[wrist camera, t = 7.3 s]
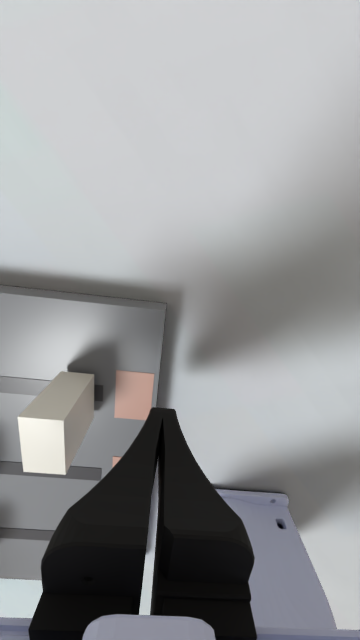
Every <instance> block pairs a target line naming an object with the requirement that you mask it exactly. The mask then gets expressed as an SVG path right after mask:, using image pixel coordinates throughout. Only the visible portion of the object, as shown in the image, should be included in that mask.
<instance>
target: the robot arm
mask: <svg viewBox="0 0 360 640" xmlns="http://www.w3.org/2000/svg"><path fill="white" fill-rule="evenodd" d="M157 461H158V496H159V500H158V520H157V533H156V547H155V560H154V573H153V586H152V599H151V611H150V615H139V608H140V599H141V590H142V581H143V572H144V563H145V554H146V544H147V534H148V524H149V513H150V503H151V495H152V489H153V483H154V478H155V472H156V467H157ZM288 504H289V499H288V497H287V495H286V494H279V493H265V492H250V491H236V490H222V489H215V488H214V487H213V486H212V484H211V483H210V482H209V480H208V479H207V478H206V476H205V475H204V473H203V471H202V470H201V468H200V467H199V465H198V463H197V462H196V460H195V458H194V457H193V455H192V453H191V451H190V449H189V447H188V445H187V443H186V440H185V438H184V436H183V433H182V431H181V428H180V425H179V422H178V419H177V415H176V411H175V410H174V409H166V408H155V407H152V408H151V409H150V412H149V415H148V417H147V419H146V421H145V423H144V425H143V427H142V428H141V430H140V432H139V434H138V435H137V437H136V438H135V440H134V441H133V443H132V444H131V446H130V447H129V449H128V450H127V451H126V453H125V454H124V455H123V456H122V458H121V459H120V460H119V461H118V462H117V464H116V465H115V466H114V467H113V468H112V469H111V470H110V471H109V472H108V474H107V475H106V476H105V477H104V478H103V479H102V480H101V481H99V482H98V483H97V484H96V485H95V486H94V487H93V488H92V489H91V490H90V491H89V492H88V493H87V494H86V495H84V496H83V497H82V498H81V499H80V500H78V501H77V502H76V503H75V504H74V505H72V506H71V507H70V508H69V509H68V510H67V512H66V513H65V515H64V516H63V518H62V519H61V521H60V523H59V525H58V526H57V528H56V530H55V532H54V534H53V535H52V537H51V540H50V542H49V544H48V546H47V549H46V551H45V553H44V556H43V558H42V560H41V576H42V586H43V593H42V595H41V598H40V600H39V603H38V606H37V608H36V611H35V613H34V616H33V618H5V617H0V640H360V630H342V629H337V627H336V624H335V620H334V617H333V614H332V611H331V608H330V605H329V602H328V600H327V597H326V595H325V592H324V590H323V588H322V586H321V583H320V581H319V579H318V576H317V574H316V572H315V569H314V567H313V565H312V563H311V560H310V558H309V556H308V553H307V551H306V549H305V546H304V544H303V542H302V540H301V537H300V535H299V533H298V530H297V528H296V526H295V524H294V521H293V519H292V517H291V514H290V512H289V510H288V507H287V506H288Z"/></svg>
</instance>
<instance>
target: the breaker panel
mask: <svg viewBox="0 0 360 640" xmlns="http://www.w3.org/2000/svg"><path fill="white" fill-rule="evenodd" d="M166 305H167V303H160V302H151V301H141V300H132V299H123V298H114V297H105V296H96V295H87V294H78V293H69V292H60V291H50V290H41V289H32V288H23V287H14V286H5V285H0V578H4V579H25V580H42V576H41V560H42V558H43V556H44V553H45V551H46V549H47V546H48V544H49V542H50V540H51V537H52V535H53V534H54V532H55V530H56V528H57V526H58V525H59V523H60V521H61V519H62V518H63V516H64V515H65V513H66V512H67V510H68V509H69V508H70V507H71V506H72V505H74V504H75V503H76V502H77V501H78V500H80V499H81V498H82V497H83V496H84V495H86V494H87V493H88V492H89V491H90V490H91V489H92V488H93V487H94V486H95V485H96V484H97V483H98V482H99V481H101V480H102V479H103V478H104V477H105V476H106V475H107V474H108V472H109V471H110V470H111V469H112V468H113V467H114V466H115V465H116V464H117V462H118V461H119V460H120V459H121V458H122V456H123V455H124V454H125V453H126V451H127V450H128V449H129V447H130V446H131V444H132V443H133V441H134V440H135V438H136V437H137V435H138V434H139V432H140V430H141V428H142V427H143V425H144V423H145V421H146V419H147V417H148V415H149V412H150V409H151V408H152V407H155V408H156V404H157V394H158V384H159V374H160V364H161V355H162V345H163V335H164V325H165V315H166ZM61 371H64V372H75V373H86V374H94V418H93V420H92V422H91V424H90V426H89V428H88V430H87V432H86V434H85V436H84V438H83V441H82V443H81V445H80V447H79V449H78V451H77V453H76V455H75V457H74V459H73V461H72V463H71V465H70V467H69V469H68V471H67V473H66V475H61V474H47V473H33V472H23V463H22V454H21V445H20V435H19V426H18V416H19V415H20V414H21V413H22V412H23V411H24V410H25V409H26V408H27V406H28V405H29V404H30V403H31V402H32V401H33V400H34V399H35V398H36V397H37V396H38V395H39V394H40V393H41V392H42V391H43V390H44V389H45V388H46V387H47V386H48V385H49V383H50V382H51V381H52V380H53V379H54V378H55V377H56V376H57V375H58V374H59V373H60V372H61Z"/></svg>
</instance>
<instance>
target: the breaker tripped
mask: <svg viewBox="0 0 360 640" xmlns="http://www.w3.org/2000/svg"><path fill="white" fill-rule="evenodd" d="M93 418H94V374H86V373H75V372H64V371H61V372H60V373H59V374H58V375H57V376H56V377H55V378H54V379H53V380H52V381H51V382H50V383H49V385H48V386H47V387H46V388H45V389H44V390H43V391H42V392H41V393H40V394H39V395H38V396H37V397H36V398H35V399H34V400H33V401H32V402H31V403H30V404H29V405H28V406H27V408H26V409H25V410H24V411H23V412H22V413H21V414H20V415H19V416H18V426H19V435H20V445H21V454H22V463H23V472H33V473H47V474H61V475H66V473H67V471H68V469H69V467H70V465H71V463H72V461H73V459H74V457H75V455H76V453H77V451H78V449H79V447H80V445H81V443H82V441H83V438H84V436H85V434H86V432H87V430H88V428H89V426H90V424H91V422H92V420H93Z"/></svg>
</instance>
